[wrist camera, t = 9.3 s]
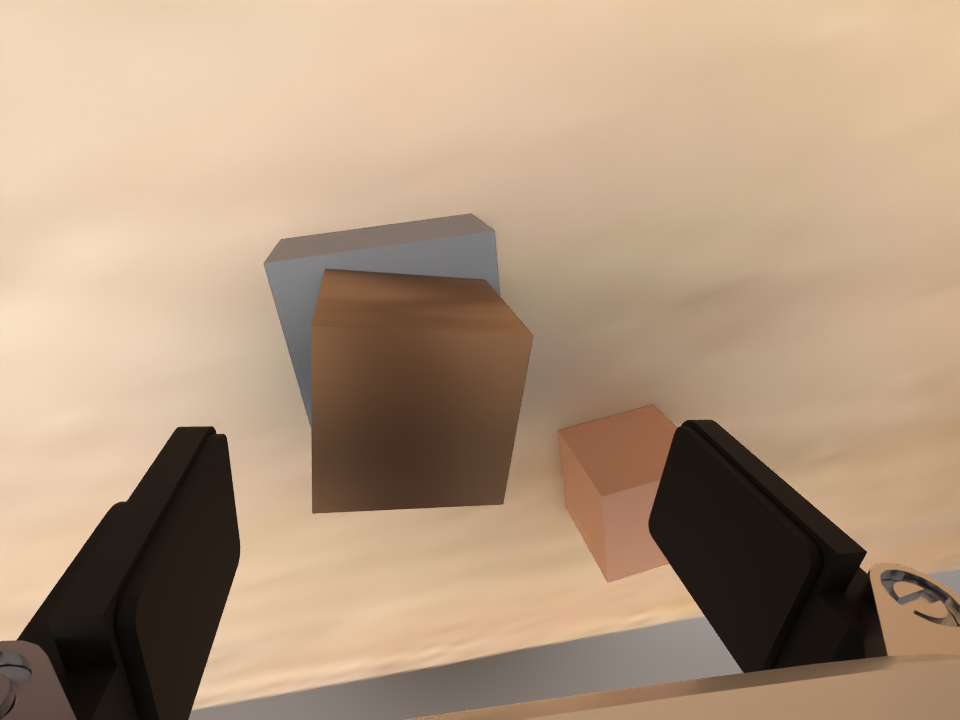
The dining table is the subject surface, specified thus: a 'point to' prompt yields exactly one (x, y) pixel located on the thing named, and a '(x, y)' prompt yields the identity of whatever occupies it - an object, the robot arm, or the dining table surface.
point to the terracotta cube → (616, 486)
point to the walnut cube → (413, 391)
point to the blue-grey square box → (371, 268)
